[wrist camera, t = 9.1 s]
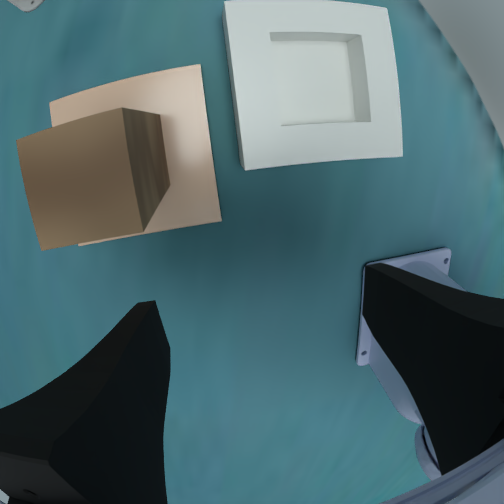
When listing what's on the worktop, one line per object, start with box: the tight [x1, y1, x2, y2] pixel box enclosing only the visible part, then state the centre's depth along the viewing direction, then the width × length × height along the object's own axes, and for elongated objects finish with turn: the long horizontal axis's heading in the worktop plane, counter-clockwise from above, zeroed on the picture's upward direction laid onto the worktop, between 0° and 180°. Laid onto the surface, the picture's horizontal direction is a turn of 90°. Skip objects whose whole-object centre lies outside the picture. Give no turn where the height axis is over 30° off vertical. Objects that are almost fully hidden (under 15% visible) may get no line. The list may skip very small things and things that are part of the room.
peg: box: [16, 107, 170, 251], centre depth 13 cm, size 4×4×8 cm
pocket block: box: [222, 0, 403, 170], centre depth 15 cm, size 9×9×2 cm
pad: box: [49, 64, 222, 246], centre depth 17 cm, size 9×9×1 cm
